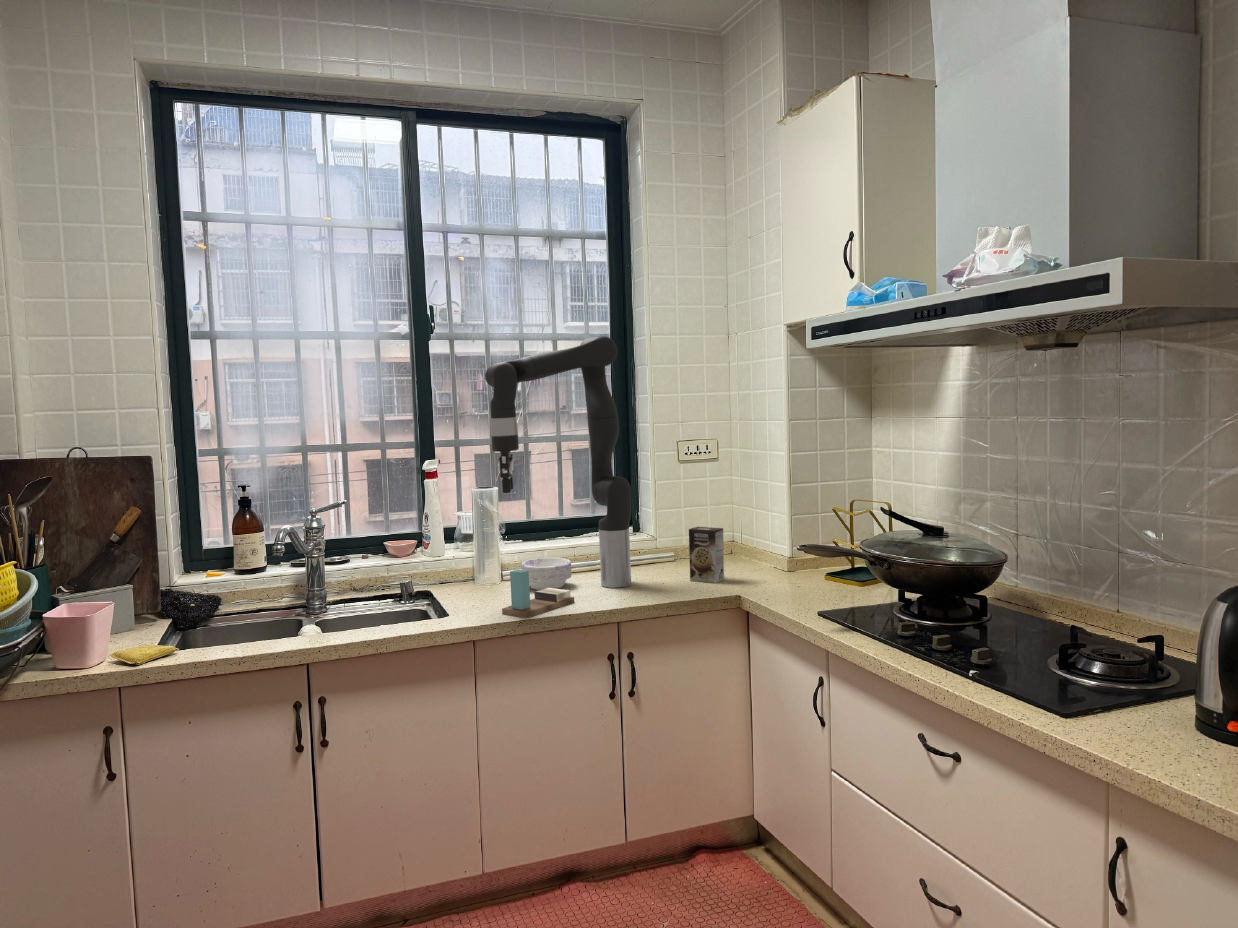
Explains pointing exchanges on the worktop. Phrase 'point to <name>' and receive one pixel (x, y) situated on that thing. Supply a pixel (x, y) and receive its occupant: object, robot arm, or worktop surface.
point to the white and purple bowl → (547, 572)
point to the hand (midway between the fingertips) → (508, 491)
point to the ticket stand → (542, 602)
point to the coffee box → (706, 554)
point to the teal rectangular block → (520, 589)
